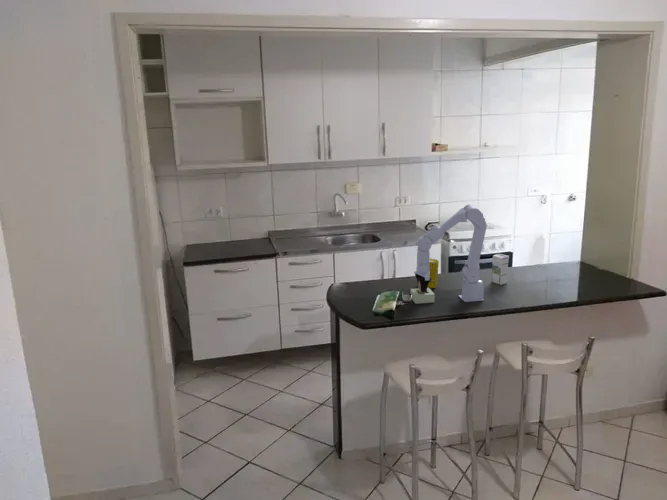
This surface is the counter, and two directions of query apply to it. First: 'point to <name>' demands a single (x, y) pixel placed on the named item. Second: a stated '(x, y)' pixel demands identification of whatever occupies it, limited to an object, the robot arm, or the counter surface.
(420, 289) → the beech peg
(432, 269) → the food
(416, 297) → the socket block
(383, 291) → the counter surface
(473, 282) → the robot arm
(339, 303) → the counter surface
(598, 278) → the counter surface
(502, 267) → the syrup box
